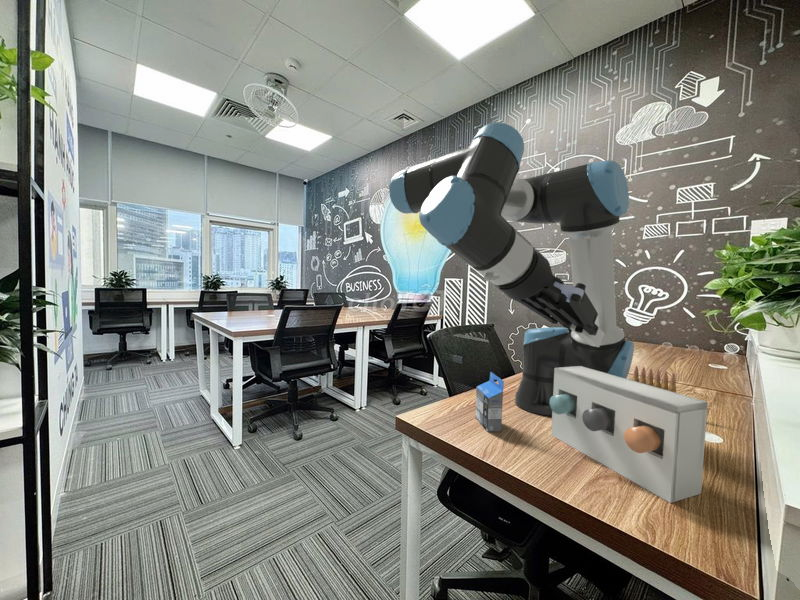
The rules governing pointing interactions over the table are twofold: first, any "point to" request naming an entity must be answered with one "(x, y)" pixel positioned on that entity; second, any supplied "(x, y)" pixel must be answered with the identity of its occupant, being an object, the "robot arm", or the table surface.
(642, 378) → the ammunition clip
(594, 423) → the charcoal button
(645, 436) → the terracotta button
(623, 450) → the console
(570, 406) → the teal button
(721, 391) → the table surface
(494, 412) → the label tape cartridge
